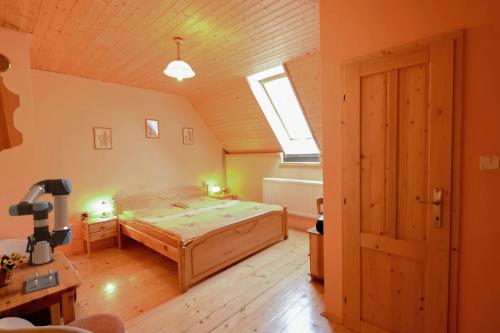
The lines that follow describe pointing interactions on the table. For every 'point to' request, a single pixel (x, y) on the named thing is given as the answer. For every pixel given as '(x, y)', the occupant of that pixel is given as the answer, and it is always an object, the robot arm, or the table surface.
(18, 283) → the table surface
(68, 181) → the robot arm
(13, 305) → the table surface
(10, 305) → the table surface
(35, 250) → the cup
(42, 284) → the tray
